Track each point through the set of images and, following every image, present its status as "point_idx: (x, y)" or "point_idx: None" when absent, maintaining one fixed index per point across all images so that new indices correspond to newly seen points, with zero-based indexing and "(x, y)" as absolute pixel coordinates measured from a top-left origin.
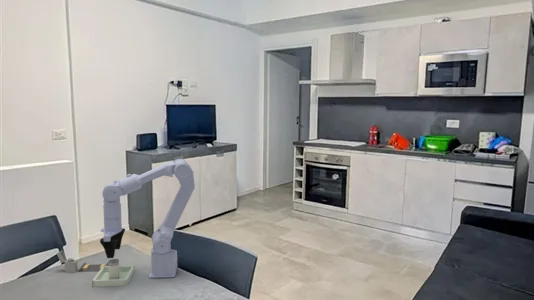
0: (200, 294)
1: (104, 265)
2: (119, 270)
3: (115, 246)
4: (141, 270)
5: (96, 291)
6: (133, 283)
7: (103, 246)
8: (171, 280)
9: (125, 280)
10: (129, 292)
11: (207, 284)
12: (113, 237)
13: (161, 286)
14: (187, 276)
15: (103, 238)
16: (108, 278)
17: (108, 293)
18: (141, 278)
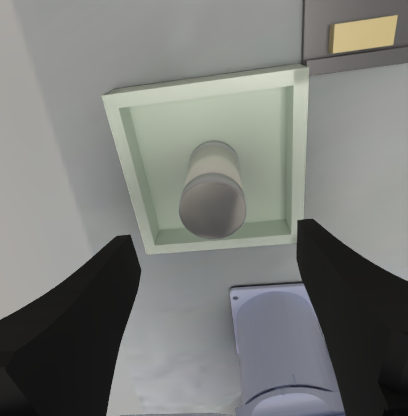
0: (145, 405)
1: (366, 46)
2: (287, 166)
3: (115, 363)
4: None
5: (89, 128)
6: None
7: (18, 315)
8: (217, 346)
9: (145, 249)
10: None
11: (199, 412)
12: (341, 307)
13: (173, 330)
14: None
15: (12, 388)
16: (208, 137)
17: (87, 187)
18: (228, 264)
